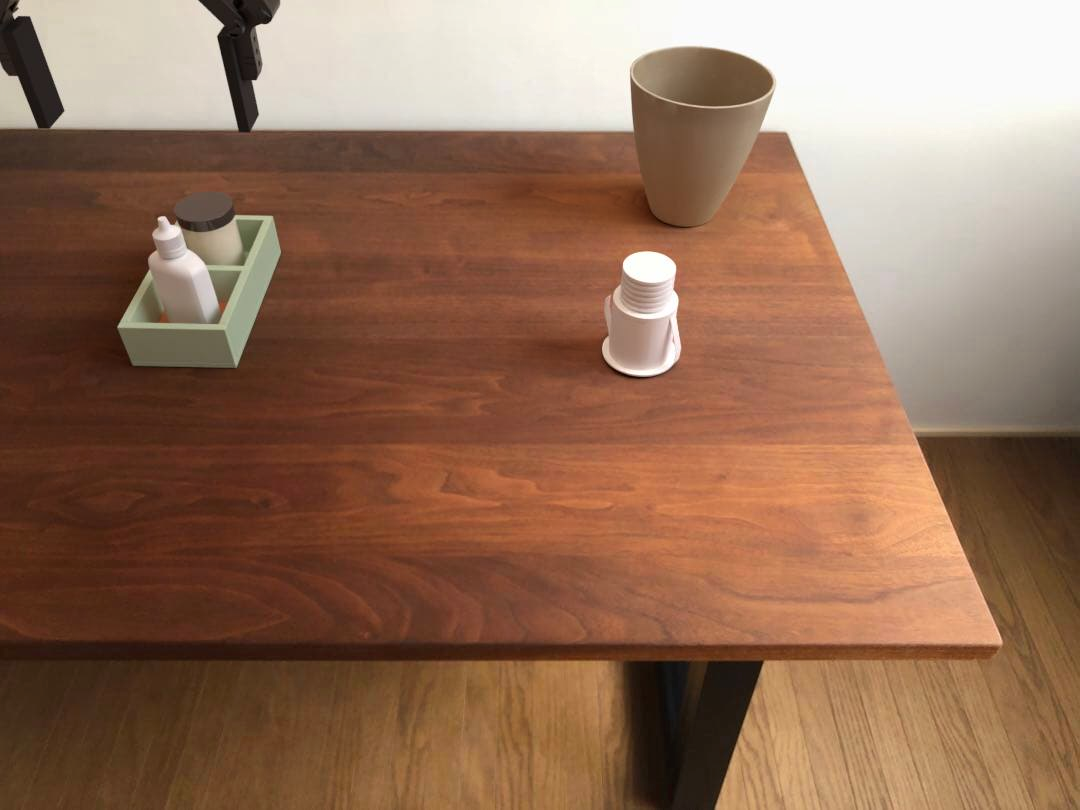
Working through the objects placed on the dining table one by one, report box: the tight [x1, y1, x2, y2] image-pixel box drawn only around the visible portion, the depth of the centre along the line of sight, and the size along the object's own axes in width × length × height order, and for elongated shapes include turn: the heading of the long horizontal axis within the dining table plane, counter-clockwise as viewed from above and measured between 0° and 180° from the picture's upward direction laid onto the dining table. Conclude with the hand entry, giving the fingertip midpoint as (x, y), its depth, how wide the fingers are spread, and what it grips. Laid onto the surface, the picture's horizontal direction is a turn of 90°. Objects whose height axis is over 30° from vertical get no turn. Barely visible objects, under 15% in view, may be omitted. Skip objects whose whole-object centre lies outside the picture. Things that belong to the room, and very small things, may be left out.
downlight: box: [601, 251, 682, 378], centre depth 81 cm, size 8×7×10 cm
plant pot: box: [629, 45, 777, 228], centre depth 97 cm, size 15×15×16 cm
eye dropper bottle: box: [147, 215, 222, 324], centre depth 81 cm, size 4×6×12 cm
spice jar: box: [173, 191, 246, 266], centre depth 89 cm, size 5×5×8 cm
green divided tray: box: [116, 214, 282, 369], centre depth 87 cm, size 18×10×5 cm, turn 179°
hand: (150, 122), depth 62 cm, fingers open, 13 cm apart
